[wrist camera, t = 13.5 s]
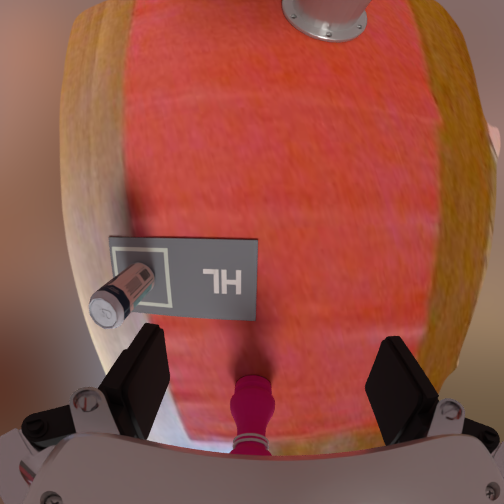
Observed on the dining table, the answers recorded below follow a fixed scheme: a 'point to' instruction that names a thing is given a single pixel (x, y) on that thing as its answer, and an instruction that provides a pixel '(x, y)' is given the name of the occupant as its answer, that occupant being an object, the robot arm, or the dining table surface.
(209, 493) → the robot arm
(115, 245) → the slate board
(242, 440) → the pepper mill
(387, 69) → the dining table surface
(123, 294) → the beer can
